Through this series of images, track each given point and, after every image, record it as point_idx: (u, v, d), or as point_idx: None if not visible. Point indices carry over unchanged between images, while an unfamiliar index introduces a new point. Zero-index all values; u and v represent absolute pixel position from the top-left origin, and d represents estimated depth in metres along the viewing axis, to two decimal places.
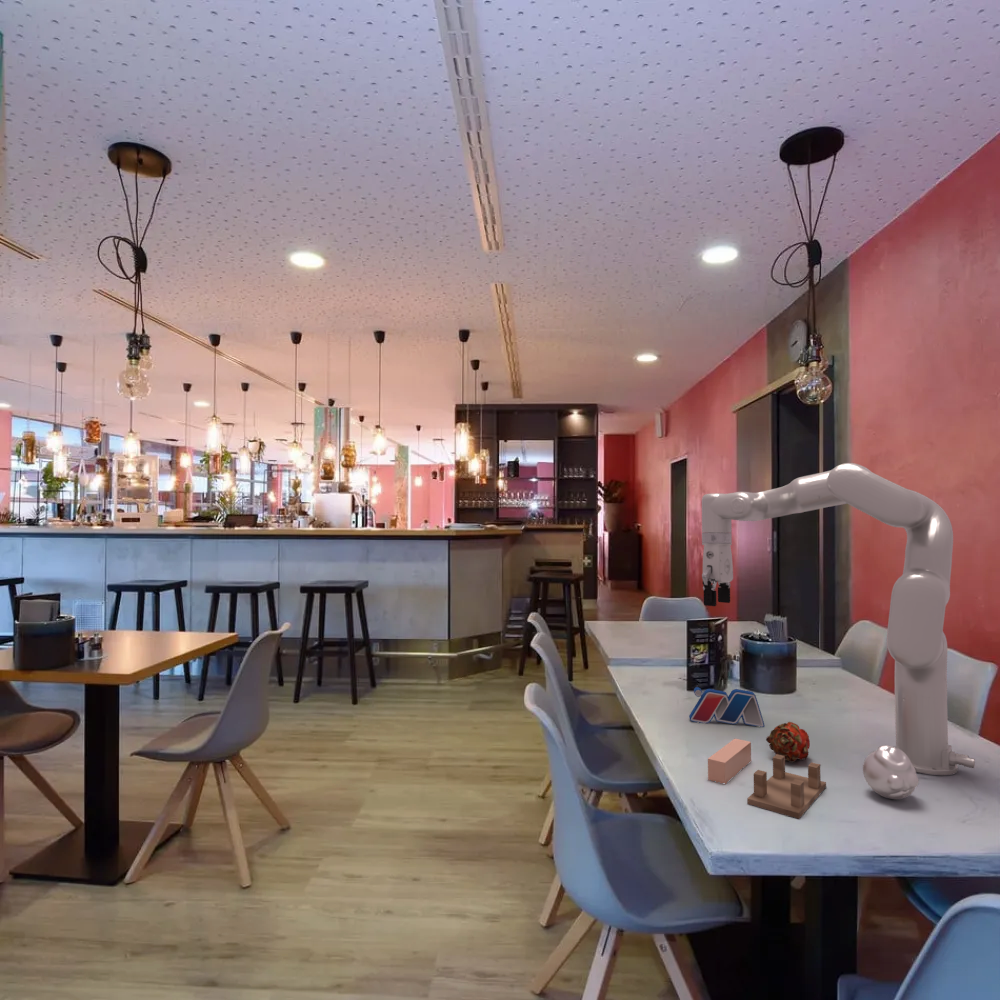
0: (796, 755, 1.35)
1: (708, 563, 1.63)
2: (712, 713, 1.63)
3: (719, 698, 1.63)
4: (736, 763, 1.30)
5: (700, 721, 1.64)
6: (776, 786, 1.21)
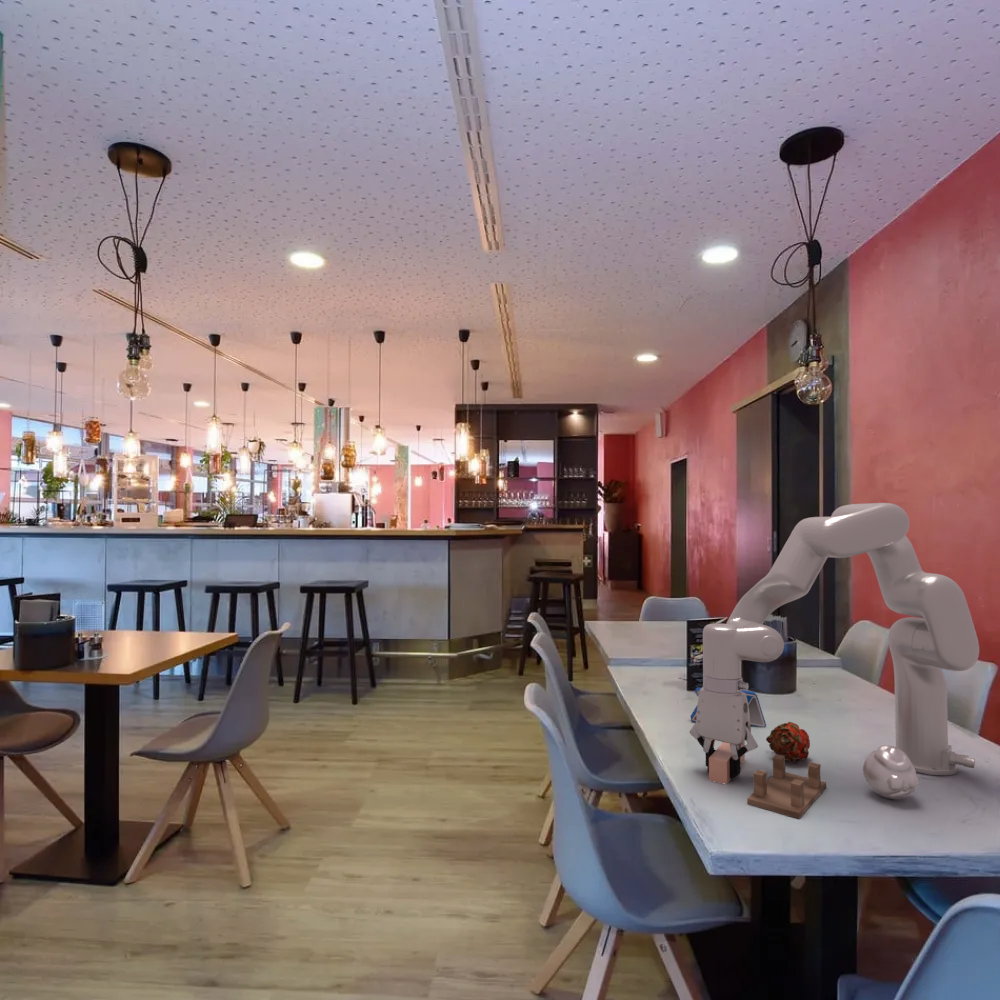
0: (796, 755, 1.35)
1: (745, 719, 1.26)
2: None
3: None
4: None
5: None
6: (776, 786, 1.21)
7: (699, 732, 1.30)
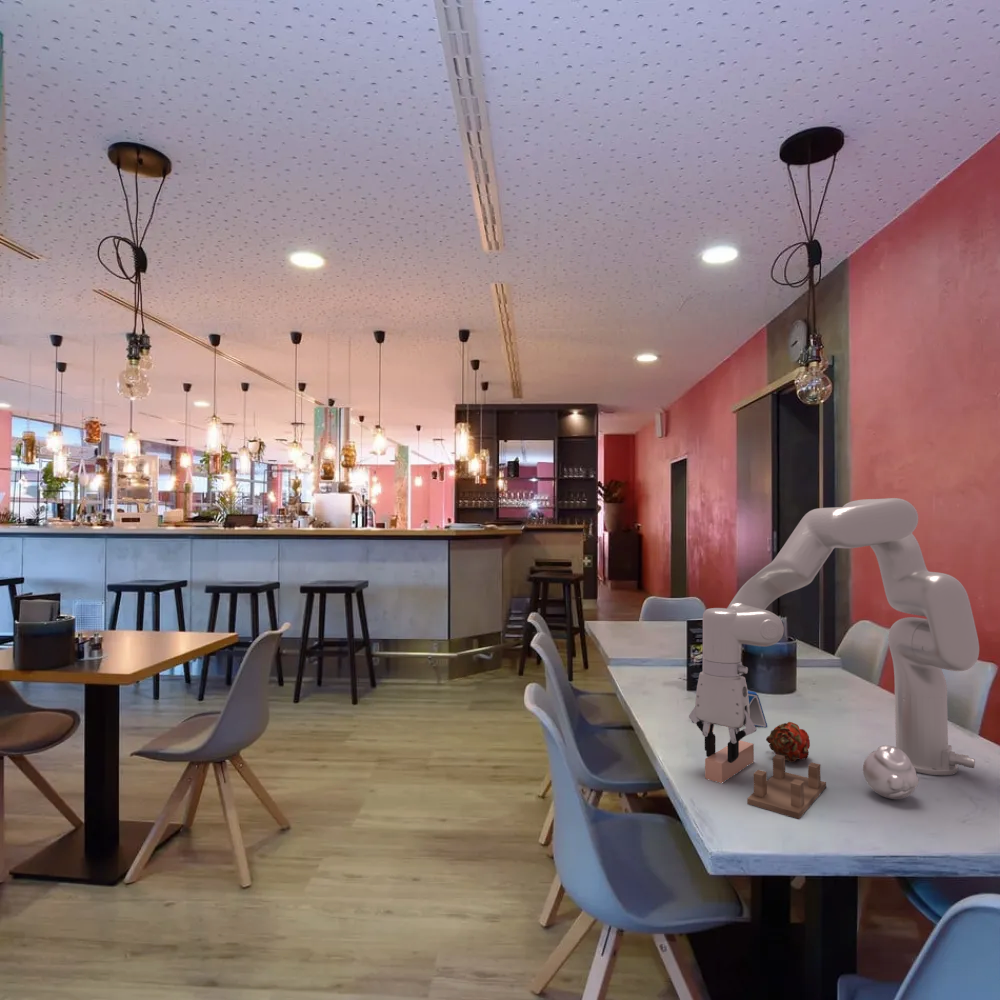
0: (796, 755, 1.35)
1: (744, 703, 1.26)
2: None
3: None
4: (735, 764, 1.30)
5: None
6: (776, 786, 1.21)
7: (698, 716, 1.31)
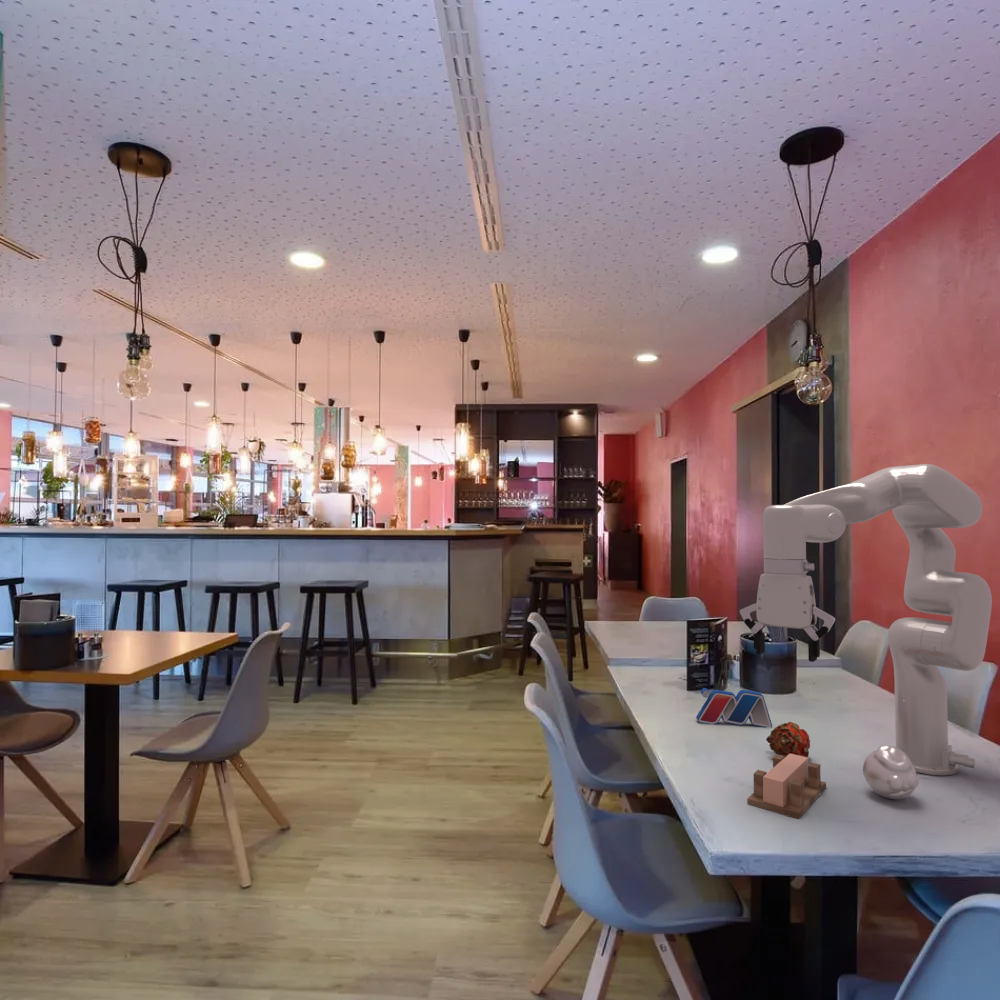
0: None
1: (812, 601, 1.18)
2: (719, 714, 1.63)
3: (727, 699, 1.62)
4: None
5: (708, 722, 1.63)
6: None
7: (760, 620, 1.22)
